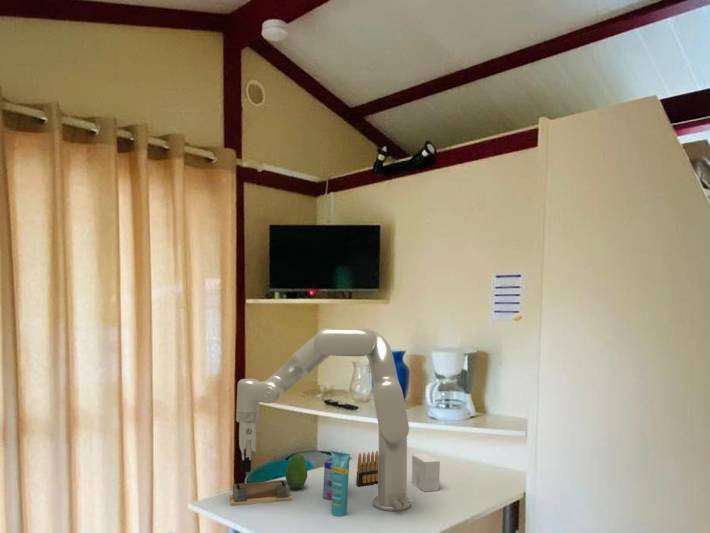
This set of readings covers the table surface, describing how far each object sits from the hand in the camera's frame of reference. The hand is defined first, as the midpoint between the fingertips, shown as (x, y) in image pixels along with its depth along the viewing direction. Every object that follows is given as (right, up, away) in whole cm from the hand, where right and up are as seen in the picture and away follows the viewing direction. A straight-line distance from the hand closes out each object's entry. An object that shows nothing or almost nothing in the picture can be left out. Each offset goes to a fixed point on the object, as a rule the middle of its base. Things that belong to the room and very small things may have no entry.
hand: (245, 471), depth 182 cm
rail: (+5, -10, +1) cm, 11 cm away
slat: (+5, -9, +1) cm, 10 cm away
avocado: (+16, -11, +12) cm, 22 cm away
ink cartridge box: (+30, -11, +6) cm, 32 cm away
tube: (+32, -10, -10) cm, 35 cm away
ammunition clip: (+42, -12, +17) cm, 47 cm away
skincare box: (+63, -12, +16) cm, 66 cm away
